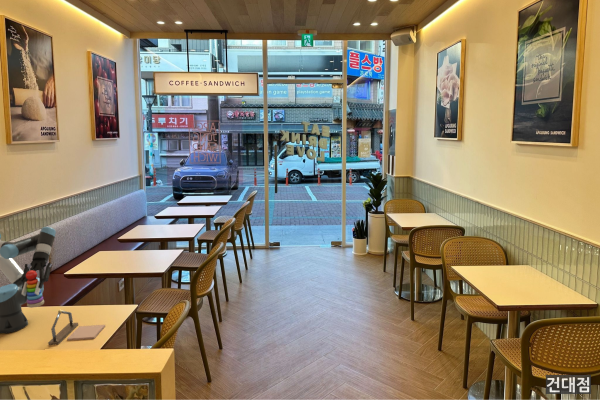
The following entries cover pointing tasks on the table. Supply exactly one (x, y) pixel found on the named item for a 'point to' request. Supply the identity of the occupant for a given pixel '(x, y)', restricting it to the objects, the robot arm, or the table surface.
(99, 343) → the table surface
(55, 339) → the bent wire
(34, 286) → the stacking toy
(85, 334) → the terracotta pad
